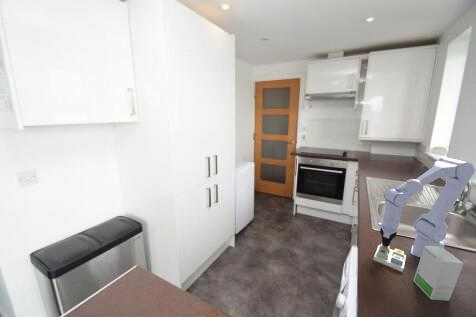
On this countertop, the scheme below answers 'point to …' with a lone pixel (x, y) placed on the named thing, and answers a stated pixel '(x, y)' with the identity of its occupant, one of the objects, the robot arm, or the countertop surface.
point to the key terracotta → (385, 247)
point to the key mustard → (398, 252)
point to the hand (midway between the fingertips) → (385, 245)
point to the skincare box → (437, 273)
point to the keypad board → (389, 260)
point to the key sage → (382, 254)
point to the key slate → (397, 259)
